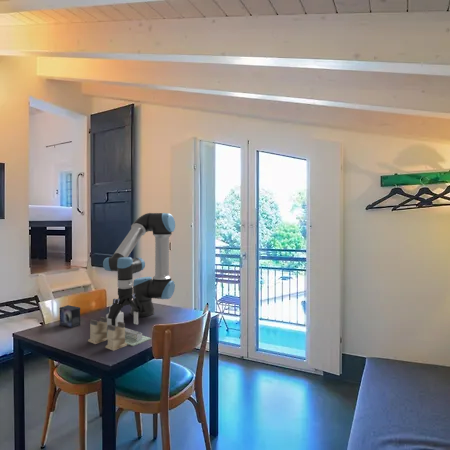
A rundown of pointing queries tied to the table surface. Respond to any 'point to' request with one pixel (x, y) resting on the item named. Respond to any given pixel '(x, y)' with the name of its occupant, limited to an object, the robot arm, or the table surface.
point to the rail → (133, 335)
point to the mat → (133, 343)
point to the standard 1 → (98, 330)
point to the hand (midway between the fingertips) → (125, 327)
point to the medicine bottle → (119, 317)
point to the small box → (70, 316)
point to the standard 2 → (116, 336)
